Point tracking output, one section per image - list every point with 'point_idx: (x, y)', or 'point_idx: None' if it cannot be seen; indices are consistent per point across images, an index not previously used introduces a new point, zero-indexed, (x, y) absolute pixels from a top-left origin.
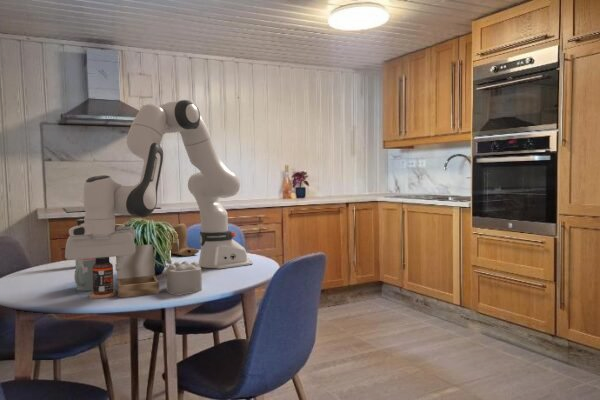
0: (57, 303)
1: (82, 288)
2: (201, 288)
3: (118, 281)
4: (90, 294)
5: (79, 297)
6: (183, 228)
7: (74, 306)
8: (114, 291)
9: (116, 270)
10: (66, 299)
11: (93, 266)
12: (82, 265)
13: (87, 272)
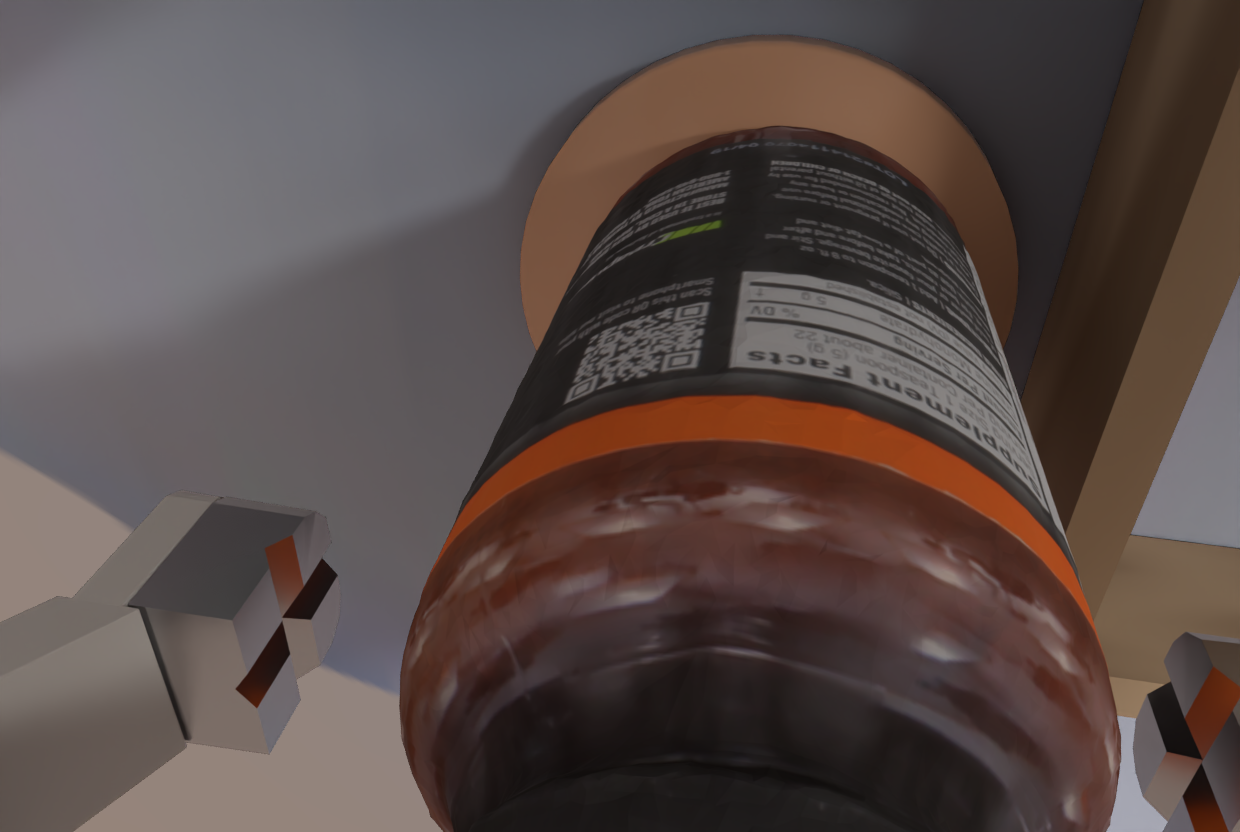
0: (120, 389)
1: None
2: None
3: (1184, 290)
4: (538, 295)
5: (363, 192)
6: None
7: (381, 631)
8: (991, 307)
9: (1161, 720)
10: (176, 217)
11: (431, 812)
12: (77, 817)
13: (324, 633)
